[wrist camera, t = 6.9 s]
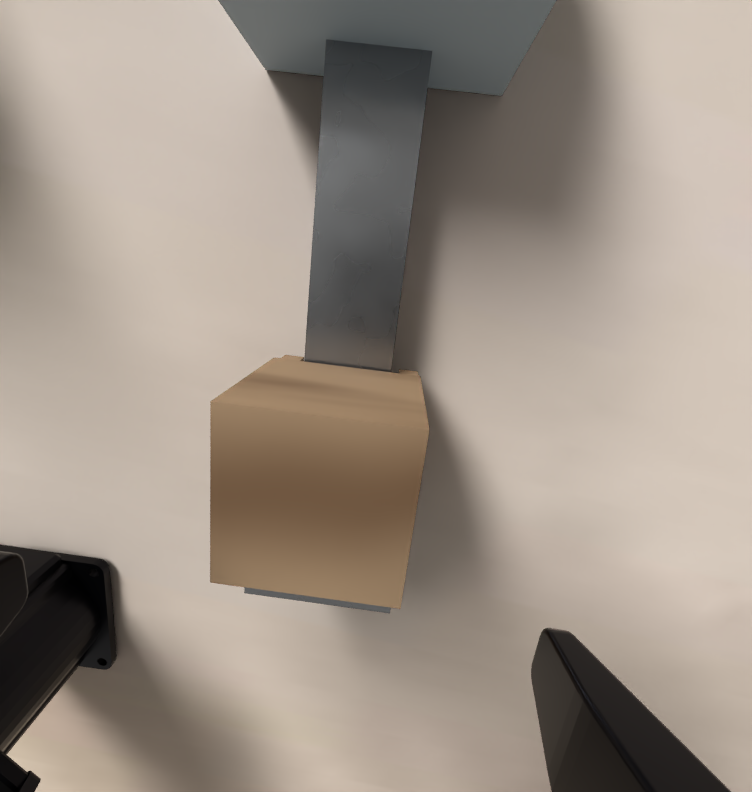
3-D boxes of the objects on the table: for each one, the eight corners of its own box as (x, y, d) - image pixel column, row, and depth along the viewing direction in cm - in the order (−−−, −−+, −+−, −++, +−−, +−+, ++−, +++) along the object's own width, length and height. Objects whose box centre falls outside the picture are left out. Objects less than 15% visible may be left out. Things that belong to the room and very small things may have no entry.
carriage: (400, 486, 17) (400, 608, 11) (278, 469, 17) (210, 582, 11) (418, 366, 16) (429, 429, 10) (285, 349, 16) (210, 401, 10)
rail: (392, 527, 19) (389, 613, 14) (283, 512, 19) (244, 593, 14) (461, 55, 14) (493, -57, 9) (311, 39, 14) (265, -80, 9)
